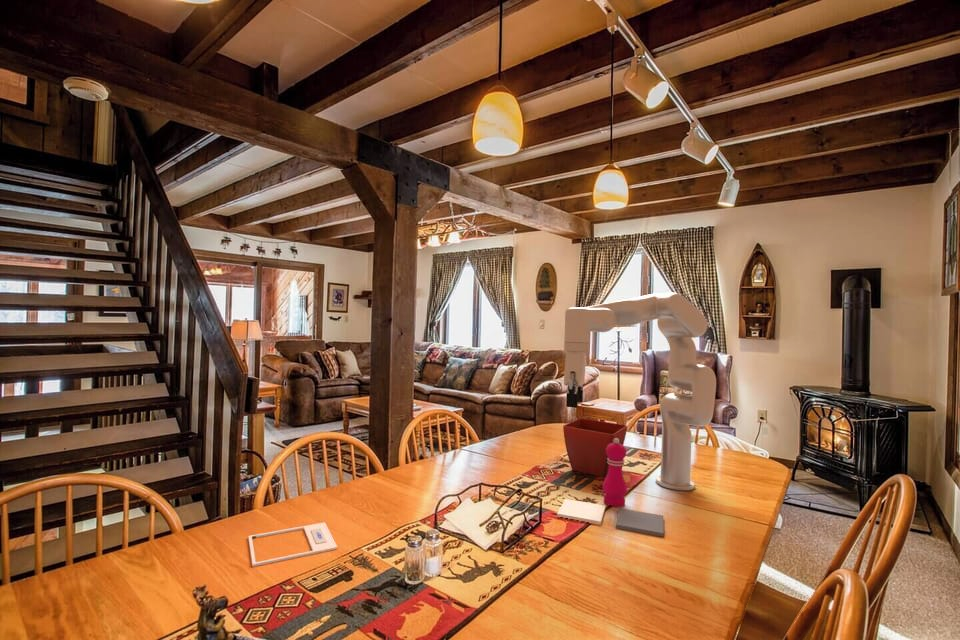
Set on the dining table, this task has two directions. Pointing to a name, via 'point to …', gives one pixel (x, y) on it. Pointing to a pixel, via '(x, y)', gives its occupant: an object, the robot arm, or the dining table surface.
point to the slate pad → (640, 522)
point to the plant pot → (591, 444)
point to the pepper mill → (615, 475)
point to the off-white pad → (582, 511)
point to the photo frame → (316, 536)
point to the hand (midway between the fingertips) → (574, 404)
